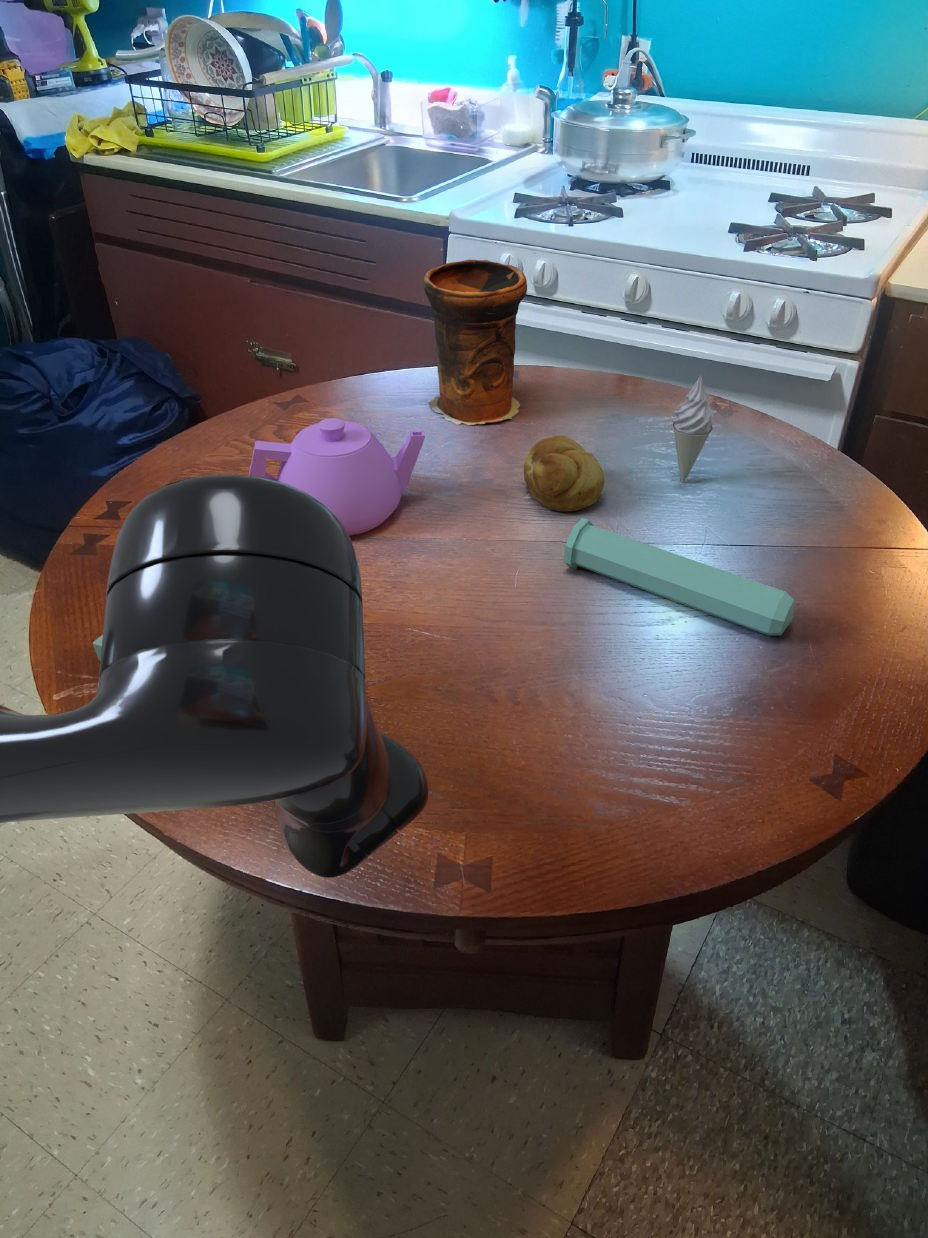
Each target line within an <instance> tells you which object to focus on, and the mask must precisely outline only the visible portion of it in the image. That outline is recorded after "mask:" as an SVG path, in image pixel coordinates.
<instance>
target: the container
mask: <svg viewBox="0 0 928 1238" xmlns="http://www.w3.org/2000/svg"><path fill="white" fill-rule="evenodd" d="M569 533H570V534H569V536H568V538H567V541H566V543H565V545H564V554H563V563H564V564H565V565H566V566H567V567H569V568H571V569H573V570H576V569H577V568H578V567H579V568H583V569H585V570H588V571H590V572H593V573H596V574H598V575H602V576H604V577H607V578H610V579H613V580H615V581H618V582H621V583H622V584H625V585H628V586H632V587H634V588H637V589H639V590H641V591H642V590H643V591H645V592H648V593H651V594H654V595H656V596H659V597H662V598H664V599H667V600H670V601H672V602H676V603H678V604H681V605H684V606H686V607H689V608H691V609H695V610H697V611H700V612H702V613H705V614H708V615H711V616H714V617H716V618H720V619H722V620H725V621H727V622H730V623H732V624H735V625H739V626H741V627H744V628H746V629H749V630H752V631H753V632H756V633H760V634H763V635H765V636H769V637H776V636H777V637H779V636H782V635H783V634H784V632H785V630H786V629H787V628H788V626H789V625H790V624H791V622H792V621H793V619H794V611H795V603H796V601H795V598H793V597H792V596H791V595H790V594H788V592H786V591H785V590H781V589H780V588H776V587H773V586H770V585H767V584H764V583H762V582H758V581H755V580H753V579H750V578H747V577H744V576H741V575H738V574H735V573H732V572H730V571H726V570H723V569H721V568H718V567H715V566H712V565H710V564H709V565H708V564H706V563H703V562H700V561H697V560H694V559H692V558H688V557H685V556H682V555H679V554H677V553H674V552H670V551H667V550H665V549H662V548H659V547H656V546H654V545H650V544H648V543H644V542H642V541H640V540H635V539H633V538H630V537H628V536H624V535H621V534H618V533H615V532H614V531H613V532H612V531H610V530H606V529H603V528H600V527H598V526H595V525H594V523H592V522H591V521H590V520H589V519H587V518H584V517H581V518H580V519H579V520H578V521H577V523H576V524H574V525H573V526H572V529H571V531H570V532H569Z"/></svg>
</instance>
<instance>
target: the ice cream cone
mask: <svg viewBox="0 0 928 1238" xmlns="http://www.w3.org/2000/svg"><path fill="white" fill-rule="evenodd" d="M685 399H686V400H685V401H684V402H682V403H680V404H678V405H677V407H678V408H679V410H674V412H673V415H674V416H676V418H675V419H673V420H672V424H671V426H672V429H673V435H674V442H675V450H676V457H677V464H678V472H679V477H680V483H681V484H684V483H686V480H687V479H688V477H689V475H690V473H691V471H692V469H693V467H694V465H695V464H696V461H697V459H698V458H699V456H700V453H701V452H702V449H703V448H704V446H705V443H706V441H707V439H708V438H709V435H710V434H711V433H712V432H713V430H714V428H713V422H714V418H715V414H714V411H713V409H712V406H710V405H709V403H708V399H709V395H708V394H707V392H706V390H705V387H704V382H703V378H702V375H701V374H700V375H699V377H698V378H697V380H696V381H695V383H694V384H693V386H692V387H691V388H690V390H689V391H688V392H687V394H686V395H685Z"/></svg>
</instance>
